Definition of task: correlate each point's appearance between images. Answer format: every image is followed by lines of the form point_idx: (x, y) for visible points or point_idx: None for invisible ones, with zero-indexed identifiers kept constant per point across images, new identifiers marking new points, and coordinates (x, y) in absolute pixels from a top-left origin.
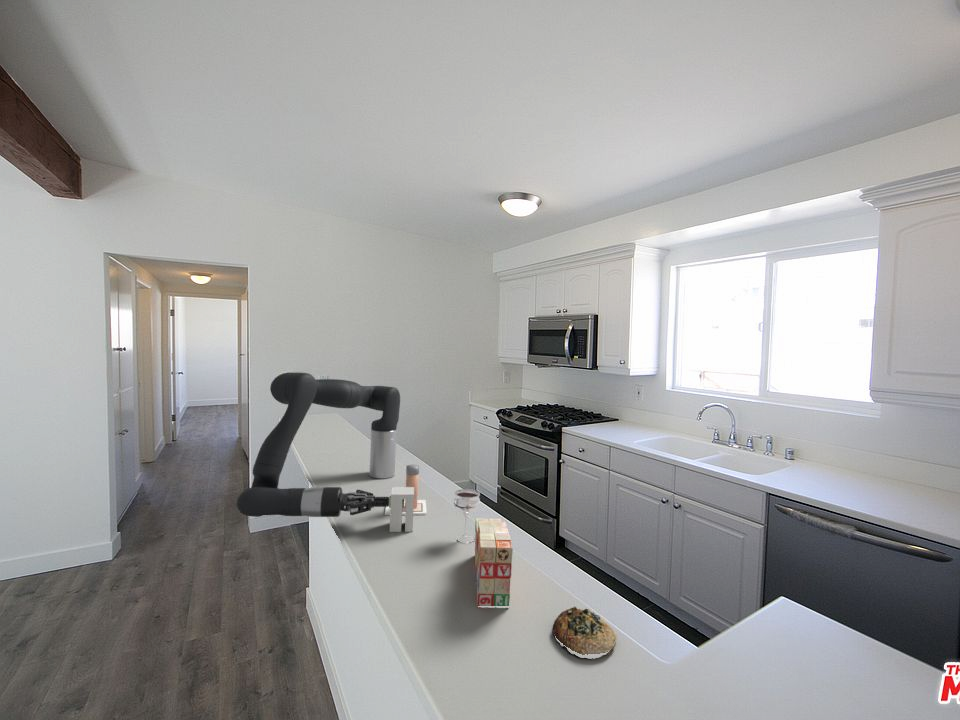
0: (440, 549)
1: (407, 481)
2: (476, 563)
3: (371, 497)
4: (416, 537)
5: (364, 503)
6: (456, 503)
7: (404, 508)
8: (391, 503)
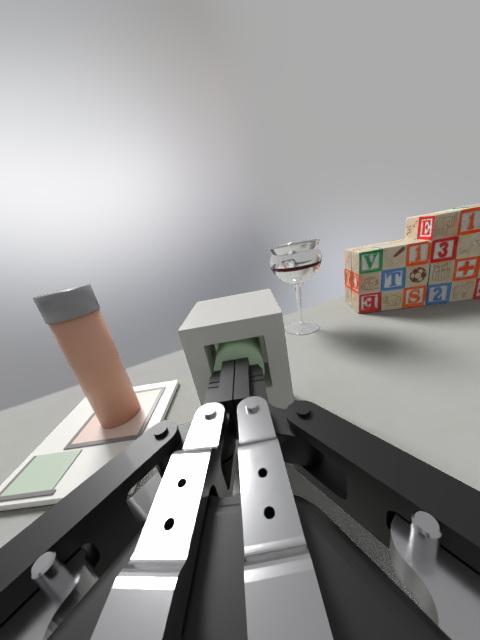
0: (360, 341)
1: (87, 343)
2: (435, 283)
3: (225, 418)
4: (317, 378)
5: (359, 431)
6: (314, 258)
7: (121, 428)
8: (286, 348)
